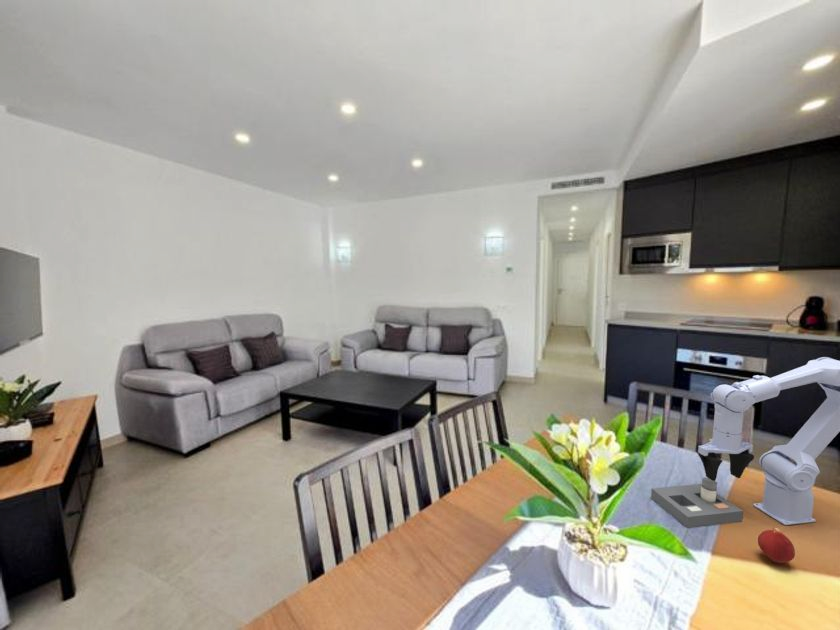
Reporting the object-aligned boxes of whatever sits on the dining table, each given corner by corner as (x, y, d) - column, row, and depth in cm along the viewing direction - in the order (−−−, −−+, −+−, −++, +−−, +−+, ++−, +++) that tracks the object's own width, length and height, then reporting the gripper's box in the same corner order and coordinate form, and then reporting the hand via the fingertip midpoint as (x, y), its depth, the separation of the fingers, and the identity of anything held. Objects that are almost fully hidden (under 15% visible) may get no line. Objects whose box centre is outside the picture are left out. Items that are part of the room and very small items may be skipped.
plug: (707, 503, 98) (709, 477, 97) (717, 511, 95) (720, 484, 94) (696, 504, 98) (699, 478, 97) (707, 512, 95) (709, 484, 94)
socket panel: (700, 493, 103) (701, 482, 103) (742, 521, 91) (743, 509, 91) (650, 498, 101) (651, 487, 101) (687, 527, 89) (688, 515, 89)
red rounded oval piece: (782, 554, 80) (786, 522, 79) (800, 575, 75) (804, 541, 74) (751, 548, 82) (754, 517, 81) (765, 568, 77) (769, 535, 76)
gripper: (736, 421, 98) (731, 467, 100) (689, 425, 96) (686, 471, 98) (763, 433, 91) (758, 481, 93) (714, 437, 89) (709, 486, 91)
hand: (723, 477), depth 95 cm, fingers open, 7 cm apart
